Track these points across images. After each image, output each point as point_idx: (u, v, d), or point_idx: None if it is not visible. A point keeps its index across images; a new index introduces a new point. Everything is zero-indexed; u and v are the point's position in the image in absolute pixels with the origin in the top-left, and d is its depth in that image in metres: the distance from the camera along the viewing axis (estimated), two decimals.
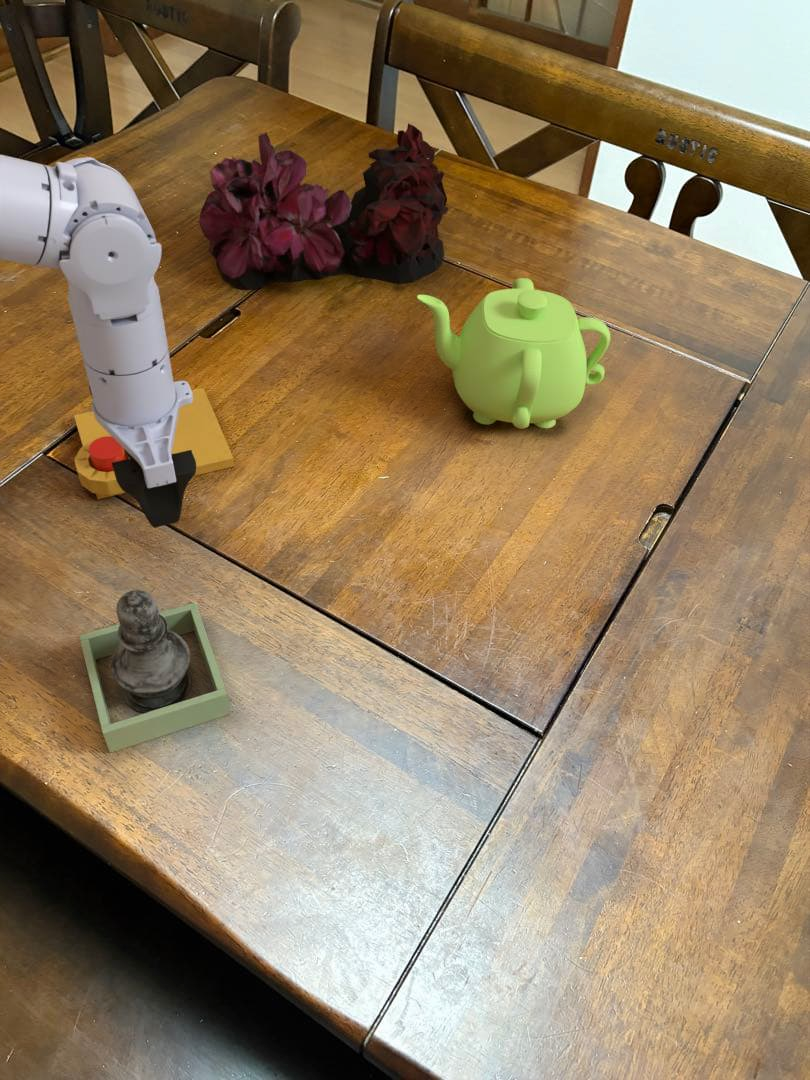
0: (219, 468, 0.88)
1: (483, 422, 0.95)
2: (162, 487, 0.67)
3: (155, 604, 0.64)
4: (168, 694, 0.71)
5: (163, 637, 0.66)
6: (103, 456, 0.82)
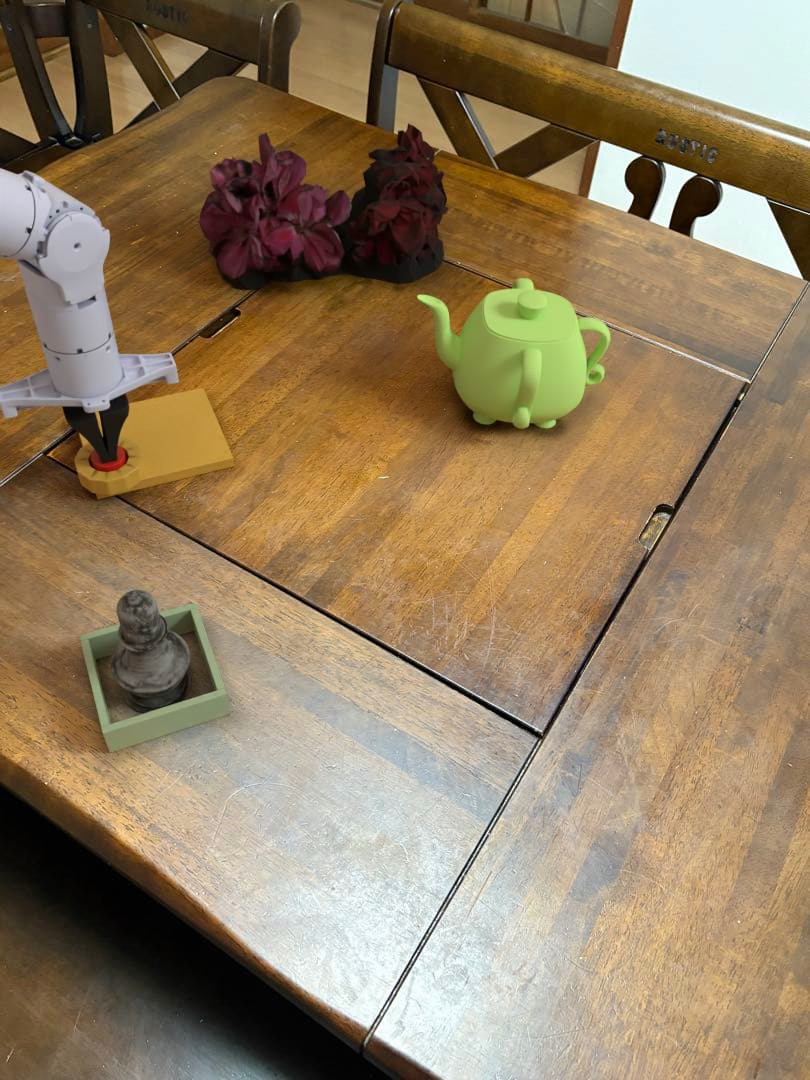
0: (219, 468, 0.88)
1: (483, 422, 0.95)
2: None
3: (155, 604, 0.64)
4: (168, 694, 0.71)
5: (163, 637, 0.66)
6: (105, 463, 0.83)
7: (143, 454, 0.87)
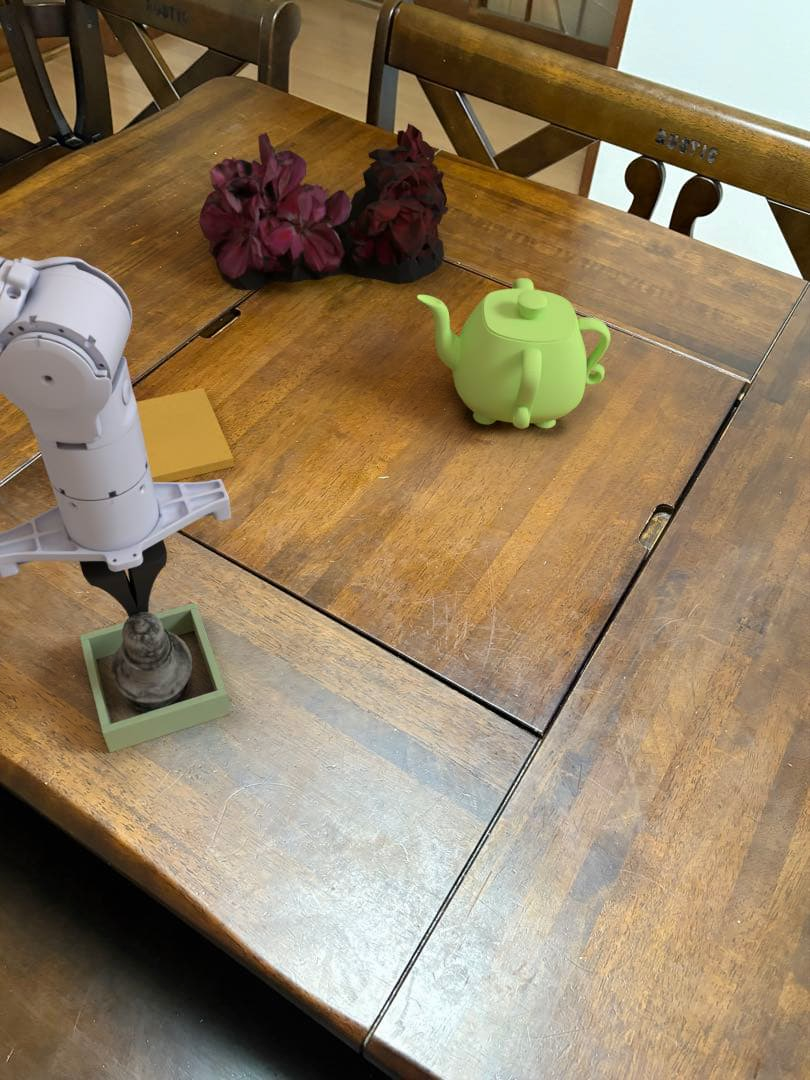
0: (219, 468, 0.88)
1: (483, 422, 0.95)
2: None
3: (162, 629, 0.63)
4: None
5: (168, 655, 0.65)
6: None
7: None
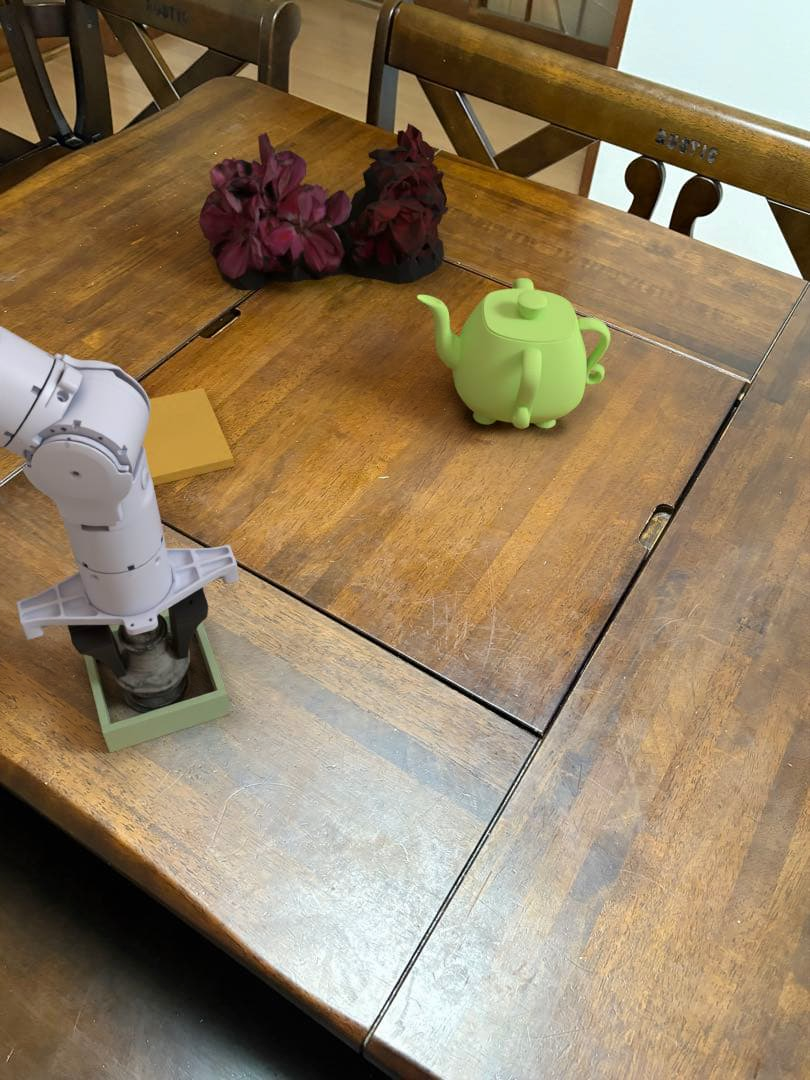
0: (219, 468, 0.88)
1: (483, 422, 0.95)
2: None
3: None
4: (168, 694, 0.71)
5: (163, 637, 0.66)
6: None
7: None
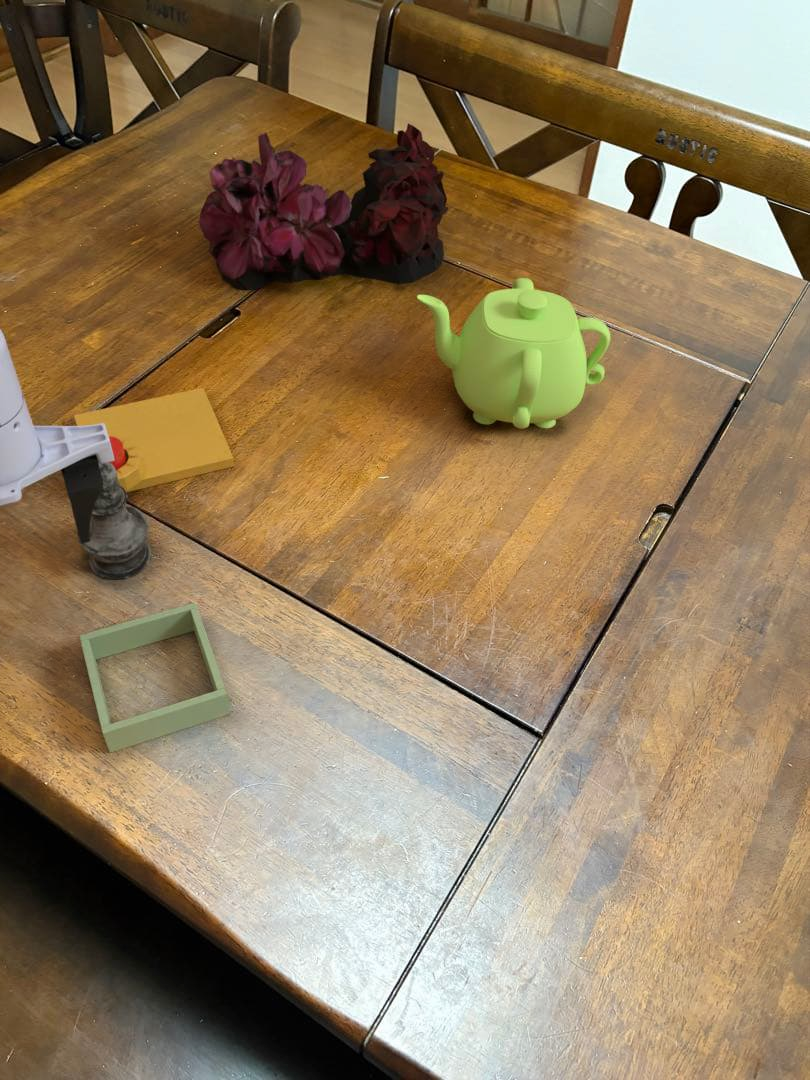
0: (219, 468, 0.88)
1: (483, 422, 0.95)
2: None
3: (115, 471, 0.73)
4: (130, 563, 0.79)
5: (123, 504, 0.74)
6: None
7: (143, 454, 0.87)
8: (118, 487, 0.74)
